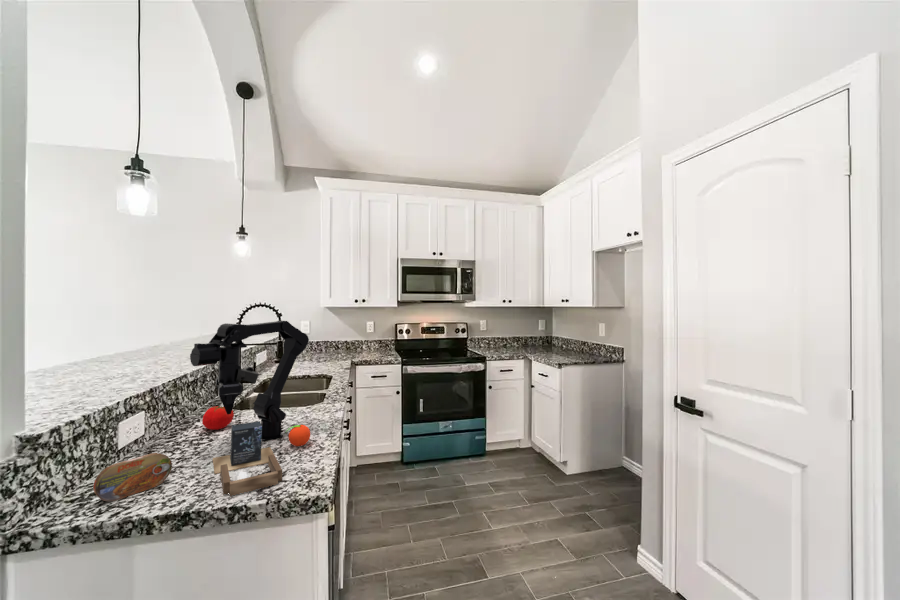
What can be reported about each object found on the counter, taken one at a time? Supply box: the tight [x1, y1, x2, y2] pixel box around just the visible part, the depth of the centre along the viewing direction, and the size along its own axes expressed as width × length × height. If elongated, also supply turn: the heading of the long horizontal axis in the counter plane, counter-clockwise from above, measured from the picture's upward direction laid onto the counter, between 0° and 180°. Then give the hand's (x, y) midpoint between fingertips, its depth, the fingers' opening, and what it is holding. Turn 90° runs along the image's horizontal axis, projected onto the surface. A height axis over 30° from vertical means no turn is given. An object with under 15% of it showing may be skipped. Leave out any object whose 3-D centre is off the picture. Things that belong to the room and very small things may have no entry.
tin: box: [92, 452, 173, 502], centre depth 91 cm, size 15×3×8 cm, turn 148°
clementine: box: [285, 424, 312, 447], centre depth 122 cm, size 8×7×7 cm
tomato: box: [202, 405, 235, 431], centre depth 137 cm, size 9×10×8 cm
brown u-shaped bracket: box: [219, 454, 283, 497], centre depth 98 cm, size 14×14×3 cm
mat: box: [212, 446, 275, 475], centre depth 110 cm, size 16×12×1 cm
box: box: [229, 420, 263, 466], centre depth 109 cm, size 8×6×11 cm
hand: (227, 410), depth 117 cm, fingers open, 9 cm apart
